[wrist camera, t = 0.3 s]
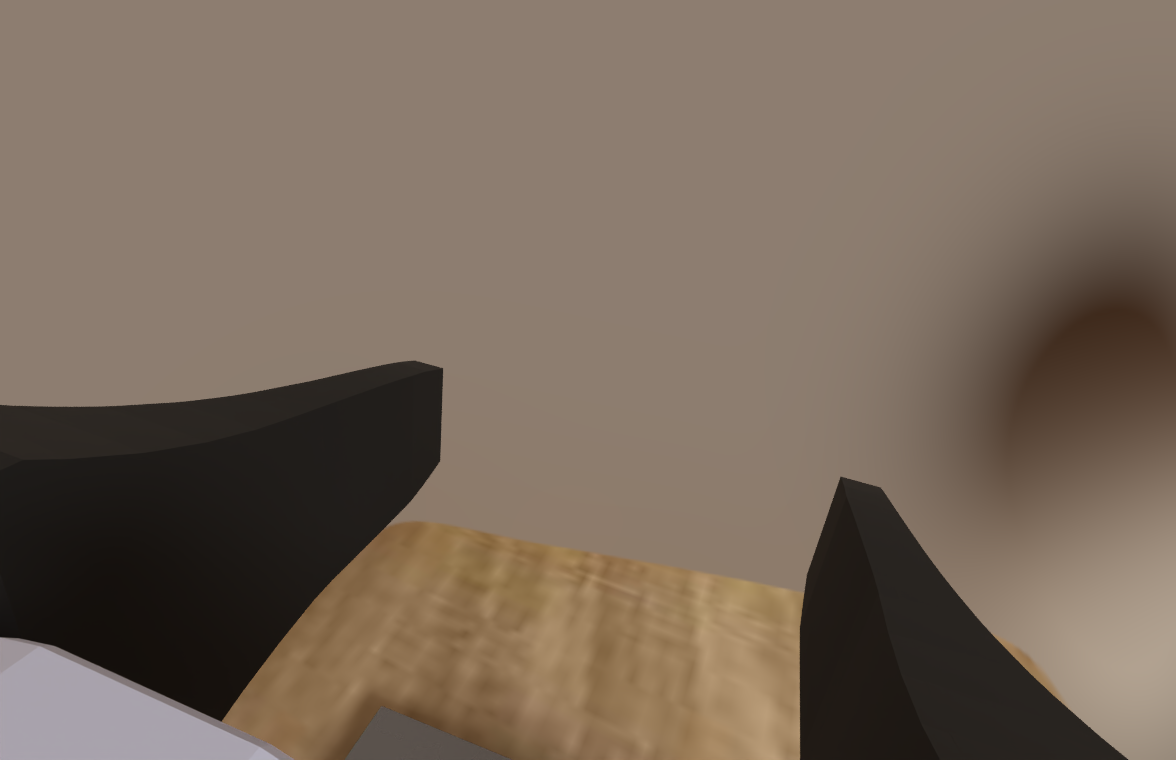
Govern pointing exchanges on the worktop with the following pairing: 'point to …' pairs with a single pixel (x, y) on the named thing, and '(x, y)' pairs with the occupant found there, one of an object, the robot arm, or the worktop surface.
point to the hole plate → (412, 741)
